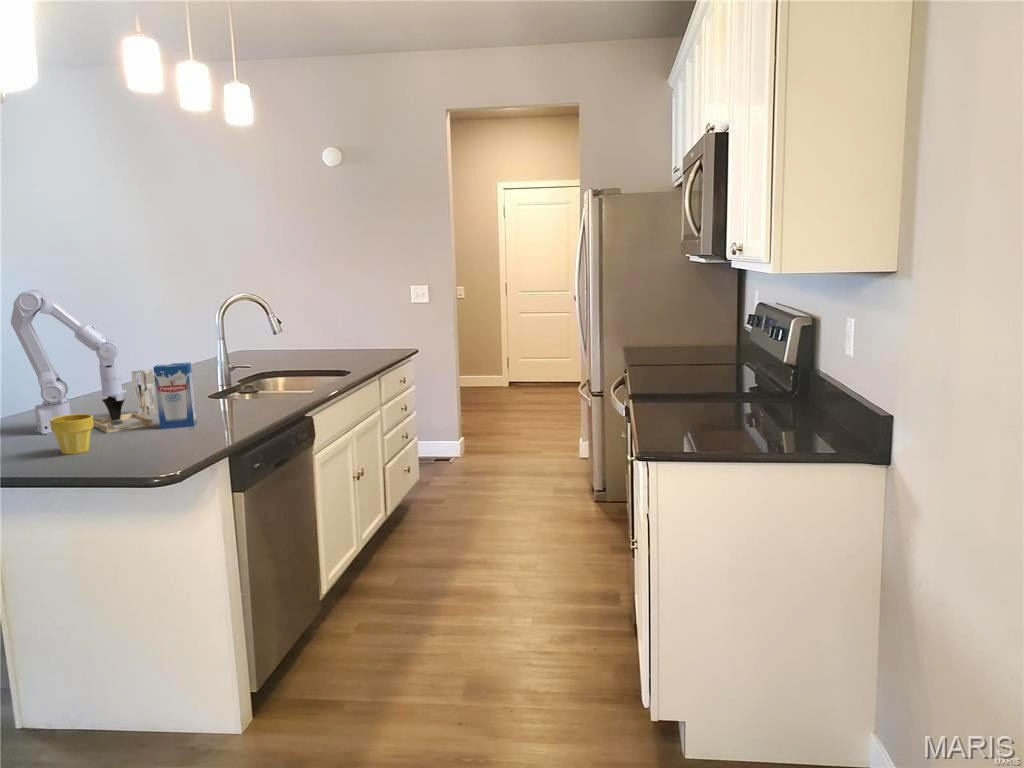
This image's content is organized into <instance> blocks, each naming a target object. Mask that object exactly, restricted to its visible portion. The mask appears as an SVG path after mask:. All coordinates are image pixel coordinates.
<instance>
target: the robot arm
mask: <svg viewBox="0 0 1024 768" xmlns="http://www.w3.org/2000/svg"><path fill="white" fill-rule="evenodd" d="M37 313H39V314H45V315H50V316H52V317H54V318H55V319H57V320H58V321H59V322H61V323H62V324H63V325H65V326H66V327H68V328H69V329H70V330H72V331H73V333H74V337H75V339H76V340H78V341H79V342H80V343H81V344H83V345H84V346H85V347H87V348H89V349H90V350H91V351H93V352H95V354H96V357H97V358H98V361H99V365H98V367H99V375H100V384H101V390H102V392H101V396H102V397H106V398H103V399H102V402H103V404H104V405H105V407H106V408H107V411H108V413H109V417H111V419H112V420H113V421H114V420H120V416H121V415H122V414H121V413H122V408H123V405H124V402H125V400H126V399H125V398H124V394H125V393H127V390H126V389H123V386H122V377H121V375H122V374H121V370H120V369H121V368H120V363H119V357H118V352H119V347H118V345H117V344H116V343H115V341H113V340H111V339H110V338H109V337H108V336H104V335H103V334H102V333H101V332H99V331H98V330H97V326H96V325H94V324H93V325H90V324H89V323H81V322H80V321H79V320H78V319H77V318H75V317H74V316H73V315H72V314H70V313H69V312H68V311H67V310H66V309H65V308H64V307H62V306H61V305H60V304H59V303H57V302H56V301H54V300H53V299H52V298H50V297H49V296H47V295H44V293H42V292H41V291H39V290H36V289H30V290H25V291H22V292H21V293H19V294H18V296H17V297H16V299H15V300H14V301H13V307H12V313H11V318H10V324H11V326H12V328H13V330H14V332H15V335H16V337H17V339H18V341H19V342H20V344H21V347H22V349H23V350H24V352H25V354H26V357H27V359H28V361H29V362H30V364H31V367H32V369H33V370H34V372H35V373H34V374H36V376H37V381H38V385H39V387H40V397H41V398H42V403H41V404H37V405H35V406H34V414H35V423H36V428H37V429H36V431H37V432H38V433H40V434H42V435H46V434H47V433H53V432H52V430H51V423H50V420H51V419H52V418H55V417H59V416H64V415H72V411H71V403H70V399H69V398H68V397H67V394H68V391H69V387H68V384H67V383H66V382H65V381H64V380H62V379H61V378H60V376H59V374H58V373H57V371H55V369H54V367H53V365H52V363H51V361H50V359H49V356H48V355H47V353H46V351H45V348H44V347H43V345H42V343H41V341H40V339H39V337H38V335H37V333H36V330H35V328H34V326H33V324H32V323H33V320H34V319H35V317H36V314H37Z"/></svg>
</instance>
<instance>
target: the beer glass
mask: <svg viewBox="0 0 1024 768" xmlns="http://www.w3.org/2000/svg"><path fill="white" fill-rule="evenodd" d="M130 374H131V385H132V387H131V388H132V390H133V395H134V397H135V401H136V404H137V411H136V413H137V414H139V415H142V416H144V415H146V416H147V415H152V414H156V413H157V409H156V406H155V395H156V386H155V377H154V369H140V370H135V371H134V370H133V371H131V373H130Z"/></svg>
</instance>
